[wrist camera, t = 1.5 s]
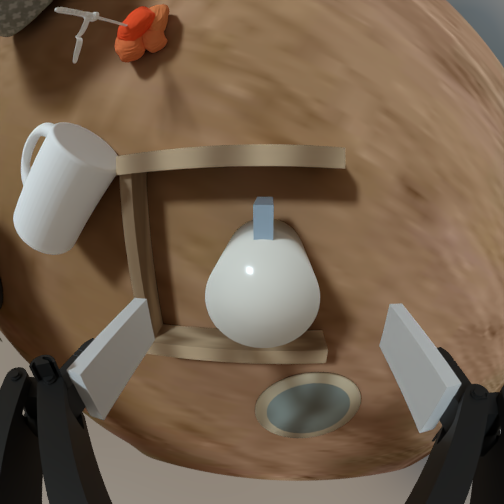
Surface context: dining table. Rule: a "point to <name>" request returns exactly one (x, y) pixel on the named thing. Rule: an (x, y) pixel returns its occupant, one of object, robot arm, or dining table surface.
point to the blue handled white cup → (263, 283)
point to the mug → (61, 185)
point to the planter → (19, 14)
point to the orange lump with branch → (129, 31)
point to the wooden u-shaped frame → (141, 258)
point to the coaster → (308, 404)
